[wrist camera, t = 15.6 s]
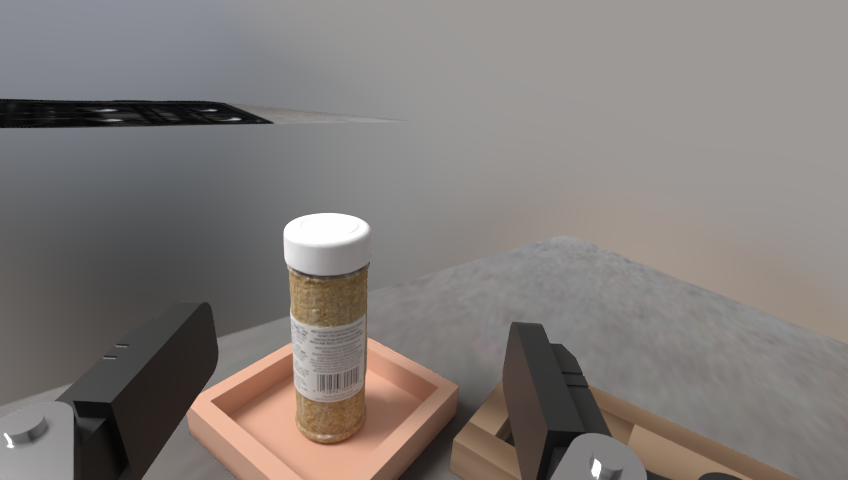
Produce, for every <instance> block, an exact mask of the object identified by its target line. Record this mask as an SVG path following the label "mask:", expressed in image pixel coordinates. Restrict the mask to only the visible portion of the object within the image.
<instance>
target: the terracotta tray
mask: <svg viewBox="0 0 848 480" xmlns="http://www.w3.org/2000/svg"><path fill="white" fill-rule="evenodd" d="M458 393H459V385H457V384H455V383H453V382H451V381H449V380H447V379H445V378H444V377H442V376H440V375H438V374H436V373H434V372H432V371H430V370H428V369H427V368H425V367H423V366H421V365H419V364H417V363H415V362H413V361H412V360H410V359H408V358H406V357H404V356H402V355H400V354H398V353H397V352H395V351H393V350H391V349H389V348H387V347H385V346H383V345H382V344H380V343H378V342H376V341H374V340H372V339H370V338H368V341H367V372H366V375H365V404H366V418H365V420H364V423H363V424H362V426H361V427H360V429H359V430H358V431H357V432H356V433H354V434H353V435H352V436H350V437H348V438H346V439H344V440H341V441H336V442H331V443H320V442H317V441H312V440H310V439H309V438H306V437H305V436H304V435H302V434H301V433H300V431H299V430H298V428H297V426H296V422H295V416H296V410H297V403H296V387H295V383H294V371H293V350H292V342H291V343H289V344H288V345H286V346H284V347H282V348H281V349H279V350H277V351H275V352H274V353H272V354H270V355H268V356H266V357H265V358H263V359H261V360H259V361H258V362H256V363H254V364H252V365H250V366H249V367H247V368H245V369H243V370H242V371H240V372H238V373H236V374H234V375H233V376H231V377H229V378H227V379H226V380H224V381H222V382H220V383H218V384H217V385H215V386H213V387H211V388H210V389H208V390H206V391H204V392H202V393H201V394H199V395H198V397H197V398H196V400H195V401H194V402H193V404H192V405H191V407H190V408H189V410H188V411H187V418H188V423H189V429H190V434H191V435H192V436H193V437H194V438H195V439H196V440H198V441H199V442H200V443H201V444H202V445H203V446H204V447H205V448H206V449H207V450H208V451H209V452H210V453H211V454H212V455H213V456H214V457H215V458H216V459H217V460H218V461H219V462H220V463H222V464H223V465H224V466H225V467H226V468H227V469H228V470H229V471H230V472H231V473H232V474H233V475H234V476H235V477H236V478H237V479H238V480H398V479H399V478H400V477H401V476H402V474H403V473H404V472H405V471H406V470H407V469H408V468H409V466H410V465H411V464H412V463H413V462H414V461H415V460H416V459H417V457H418V456H419V455H420V454H421V453H422V452H423V451H424V449H425V448H426V447H427V446H428V445H429V444H430V443H431V442H432V440H433V439H434V438H435V437H436V436H437V435H438V434H439V433H440V431H441V430H442V429H443V428H444V427H445V426H446V425H447V423H448V422H449V421H450V420H451V419H452V418H453V417H454V416H455V414H456V407H457V400H458Z"/></svg>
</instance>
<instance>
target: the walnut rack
mask: <svg viewBox="0 0 848 480" xmlns="http://www.w3.org/2000/svg"><path fill="white" fill-rule="evenodd" d="M588 388H589V389H590V390H591V392H592V394H593V396H594V398H595V401H596V403H597V405H598V407H599V409H600V411H601V413H602V416H603V418H604V420H605V422H606V424H607V426H608V428H609V430H610V433H611V435H612V437H613V438H614V439H616V440H618V441H620V442H622V443H623V444H625V445H626V446H627V447H629V448H630V449H631V450H632V451H633V452H634V453H635V454H636V455H637V456H638V458H639V459H640V461H641V462H642V464H643V466H644V468H645V469H646V470H648V471H650V472H652V473H655V474H658V475H660V476H663V477H666V478H669V479H672V480H698V479H699V478H700V477H701V476H702V475H704V474H706V473H711V472H720V473H726V474H729V475H733V476H735V477H738V478H740V479H742V480H799V479H797V478H795V477H793V476H790V475H788V474H786V473H784V472H781V471H779V470H777V469H775V468H772V467H770V466H768V465H766V464H764V463H761V462H759V461H757V460H755V459H752V458H750V457H748V456H746V455H744V454H741V453H739V452H737V451H735V450H732V449H730V448H728V447H726V446H724V445H721V444H719V443H717V442H715V441H712V440H710V439H708V438H706V437H704V436H701V435H699V434H697V433H695V432H692V431H690V430H688V429H686V428H684V427H681V426H679V425H677V424H675V423H672V422H670V421H668V420H666V419H664V418H661V417H659V416H657V415H655V414H652V413H650V412H648V411H646V410H643V409H641V408H639V407H637V406H635V405H632V404H630V403H628V402H626V401H623V400H621V399H619V398H617V397H615V396H612V395H610V394H608V393H606V392H603V391H601V390H599V389H597V388H595V387H592V386H590V385H588ZM511 433H512V430H511V425H510V420H509V415H508V411H507V406H506V401H505V396H504V391H503V380H502V381H501V382H500V384H499V385H498V386H497V387H496V388H495V390H494V391H493V392H492V393H491V394H490V396H489V397H488V398H487V399H486V401H485V402H484V403H483V404H482V405H481V407H480V408H479V409H478V410H477V411H476V413H475V414H474V415H473V416H472V417H471V419H470V420H469V421H468V422H467V423H466V425H465V426H464V427H463V428H462V430H461V431H460V432H459V433H458V434H457V436H456V437H455V438H454V439H453V446H452V453H451V461H450V468H449V470H450V471H451V472H453V473H454V474H456V475H457V476H459V477H460V478H462V479H463V480H522V477H521V473H520V468H519V463H518V458H517V454H516V449H515V447H513V446H511V445H510V444H508V443H506V440H507V439H508V437H509V436H510V434H511Z"/></svg>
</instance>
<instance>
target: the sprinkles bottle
mask: <svg viewBox="0 0 848 480" xmlns="http://www.w3.org/2000/svg"><path fill="white" fill-rule="evenodd" d="M284 254H285V261H286V263H287V267H288V269H289V275H290V276H289V277H290V293H291V308H290V314H291V331H292V350H293V371H294V383H295V387H296V403H297V410H296V416H295V422H296V426H297V428H298V430H299V431H300V433H301V434H302V435H304V436H305V437H306V438H309V439H310V440H312V441H317V442H320V443H331V442H336V441H341V440H344V439H346V438H348V437H350V436H352V435H353V434H354V433H356V432H357V431H358V430H359V429H360V427H361V426H362V424H363V423H364V420H365V418H366V404H365V375H366V372H367V341H368V334H367V273H368V271H367V269H368V267H369V264H370V258H371V228H370V226H369V225H368V224H367V223H366V222H364V221H363V220H361V219H359V218H357V217H353V216H349V215H344V214H334V213H323V214H313V215H307V216H303V217H300V218H297V219H295V220H293V221H291V222H290V223H289V224H288V225H287V226H286V227H285V229H284Z"/></svg>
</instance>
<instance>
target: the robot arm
mask: <svg viewBox="0 0 848 480" xmlns="http://www.w3.org/2000/svg"><path fill="white" fill-rule="evenodd" d="M217 361H218V345H217V339H216V333H215V327H214V321H213V315H212V309H211V306H210V305H209V304H208V303H206V302H193V301H175V302H174V303H172V304H171V305H170V306H169V307H168V308H167V309H166V310H165V311H164V312H163V313H162V314H161V315H160V316H159V317H158V318H157V319H155V318H153V319H150V320H149V321H147V322H145V323H143V324H141V325H139V326H138V327H136V328H134V329H132V330H131V331H130V332H129V333H128V334H126V335H125V336H124V337H123V338H122V339H121V340H120V341H119V342H118V343H117V345H116V347H112V348H111V349H110V350H109V351H108V352H107V353H106V354H105V355H104V358H103V359H100V360H98V361H97V362H96V363H95V364H94V365H93V366H92V367H91V368H90V369H89V370H88V371H87V372H86V373H84V374H83V376H81V377H80V378H79V379H78V380H77V381H76V382H75V383H74V384H73V385H71V386H70V387H69V388H68V389H67V390H66V391H65V392H64V393H63V394H62V395H61V396H60V397H59V398H57V399H56V400H55V401H49V402H42V403H37V404H33V405H29V406H26V407H24V408H21V409H19V410H16V411H14V412H12V413H10V414H8V415H6V416H4V417H3V418H1V419H0V480H141V479H142V478H143V476H144V475H145V473H146V472H147V470H148V469H149V467H150V466H151V464H152V463H153V461H154V460H155V458H156V457H157V456H158V454H159V453H160V451H161V450H162V448H163V447H164V445H165V444H166V442H167V441H168V439H169V438H170V436H171V435H172V433H173V432H174V430H175V429H176V428H177V426H178V425H179V423H180V422H181V420H182V419H183V417H184V416H185V414H186V413H187V411H188V410H189V408H190V407H191V405H192V404H193V402H194V401H195V400H196V398H197V397H198V395H199V394H200V392H201V391H202V389H203V388H204V386H205V385H206V383H207V382H208V380H209V379H210V377H211V376H212V374H213V373H214V371H215V368H216V365H217ZM582 374H583V373H582V371H581V368H580V366H579V364H578V362H577V360H576V358H575V357H574V356H573V355H572V354H571V353H570V352H569V351H568V350H567V349H566V348H565V347H564V346H563V345H562V344H551V343H549V340H548V338H547V335H546V333H545V330H544V328H543V326H542V324H538V323H522V322H513V323H512V324H511V327H510V332H509V338H508V344H507V349H506V355H505V361H504V367H503V391H504V396H505V401H506V406H507V411H508V415H509V420H510V425H511V430H512V435H513V439H514V444H515V449H516V454H517V458H518V463H519V468H520V473H521V477H522V480H672V479H669V478H666V477H663V476H660V475H658V474H655V473H652V472H650V471H648V470H646V469H645V468H644V466H643V464H642V462H641V461H640V459H639V458H638V456H637V455H636V454H635V453H634V452H633V451H632V450H631V449H630V448H629V447H627V446H626V445H625V444H623V443H622V442H620V441H618V440H616V439H614V438H613V437H612V435H611V433H610V430H609V428H608V426H607V424H606V422H605V420H604V418H603V416H602V413H601V411H600V409H599V407H598V405H597V403H596V401H595V398H594V396H593V394H592V392H591V390H590V389H589V388H588V383H587V381H586V379H585V377H584V376H583V375H582ZM698 480H742V479H740V478H738V477H735V476H733V475H729V474H726V473H720V472H711V473H706V474H704V475H702V476H701V477H700V478H699V479H698Z"/></svg>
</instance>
